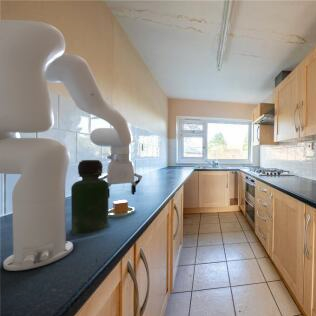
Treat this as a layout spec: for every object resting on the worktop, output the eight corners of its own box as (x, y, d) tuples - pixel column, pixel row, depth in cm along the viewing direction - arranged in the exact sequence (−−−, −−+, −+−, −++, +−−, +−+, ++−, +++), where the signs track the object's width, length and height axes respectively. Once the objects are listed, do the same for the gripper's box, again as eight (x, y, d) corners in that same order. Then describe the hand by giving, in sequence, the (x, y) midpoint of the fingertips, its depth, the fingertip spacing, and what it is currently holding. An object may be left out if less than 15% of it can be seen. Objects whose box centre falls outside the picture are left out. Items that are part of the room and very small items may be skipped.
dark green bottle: (70, 237, 59) (70, 161, 59) (72, 227, 68) (72, 159, 67) (109, 229, 66) (109, 160, 65) (107, 221, 74) (107, 159, 73)
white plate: (136, 214, 83) (136, 211, 83) (107, 219, 75) (107, 216, 75) (131, 208, 91) (131, 205, 91) (104, 212, 84) (104, 209, 83)
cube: (127, 212, 83) (127, 201, 83) (114, 215, 80) (114, 203, 79) (125, 210, 87) (125, 199, 86) (112, 212, 83) (112, 201, 83)
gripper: (97, 158, 74) (97, 200, 75) (143, 158, 85) (144, 194, 86) (95, 157, 79) (96, 196, 80) (139, 157, 91) (139, 191, 92)
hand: (121, 195), depth 83 cm, fingers open, 9 cm apart
